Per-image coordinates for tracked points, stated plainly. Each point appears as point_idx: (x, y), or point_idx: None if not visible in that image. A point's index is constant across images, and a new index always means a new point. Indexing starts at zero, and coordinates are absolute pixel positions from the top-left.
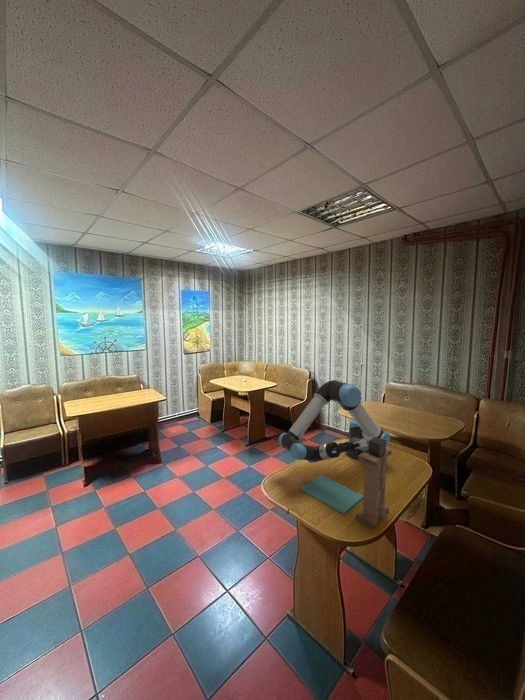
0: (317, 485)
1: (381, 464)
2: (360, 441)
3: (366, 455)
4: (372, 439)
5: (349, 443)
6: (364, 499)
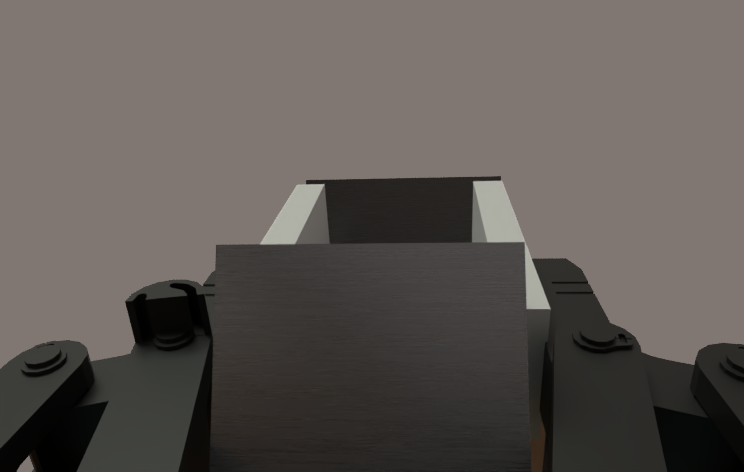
0: None
1: None
2: (513, 217)
3: None
4: (424, 181)
5: (526, 402)
6: None
